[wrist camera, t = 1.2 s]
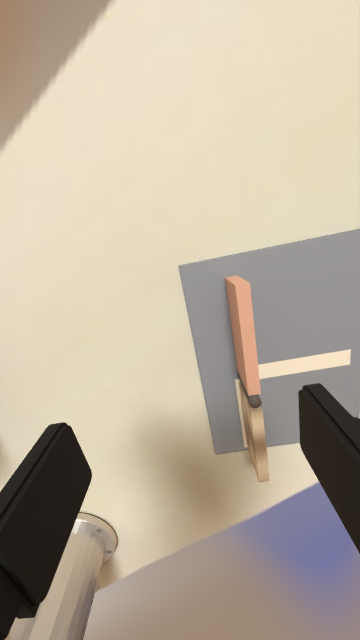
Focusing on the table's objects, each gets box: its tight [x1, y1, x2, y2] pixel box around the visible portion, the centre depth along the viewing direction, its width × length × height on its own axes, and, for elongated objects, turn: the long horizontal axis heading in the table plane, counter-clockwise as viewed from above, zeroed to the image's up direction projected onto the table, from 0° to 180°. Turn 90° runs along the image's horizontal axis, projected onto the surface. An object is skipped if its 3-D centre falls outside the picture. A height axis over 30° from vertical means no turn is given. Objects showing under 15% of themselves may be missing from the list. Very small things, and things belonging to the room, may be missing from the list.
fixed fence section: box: [238, 373, 270, 482], centre depth 26 cm, size 12×1×5 cm, turn 11°
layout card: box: [179, 229, 360, 454], centre depth 27 cm, size 26×19×1 cm
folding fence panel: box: [225, 275, 261, 396], centre depth 23 cm, size 11×1×5 cm, turn 11°
